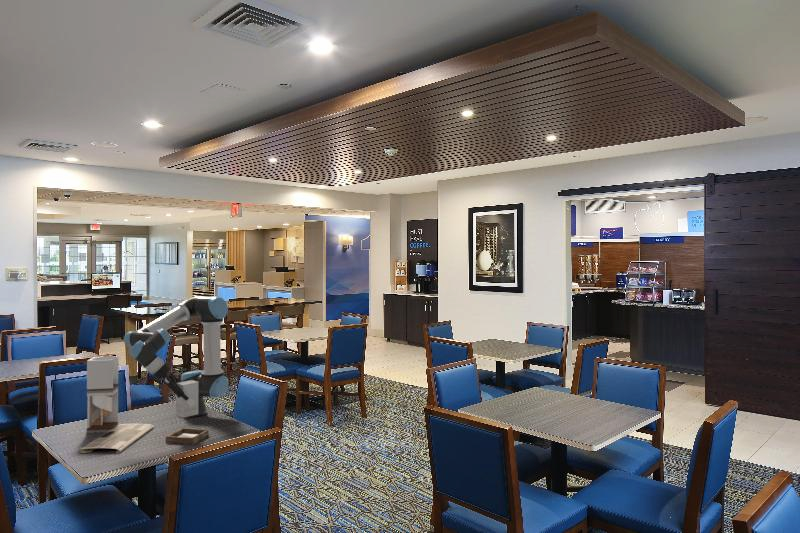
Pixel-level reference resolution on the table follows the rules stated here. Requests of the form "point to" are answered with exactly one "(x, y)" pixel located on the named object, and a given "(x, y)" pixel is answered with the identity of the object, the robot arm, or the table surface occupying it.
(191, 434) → the walnut tray
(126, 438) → the newspaper
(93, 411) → the paper towel dispenser
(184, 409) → the skincare box
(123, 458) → the table surface
